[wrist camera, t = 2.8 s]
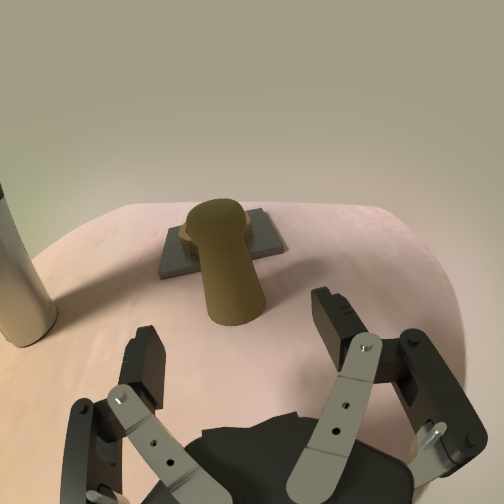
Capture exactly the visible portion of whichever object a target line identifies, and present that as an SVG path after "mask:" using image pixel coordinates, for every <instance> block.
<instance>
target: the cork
mask: <svg viewBox="0 0 504 504" xmlns="http://www.w3.org/2000/svg"><path fill="white" fill-rule="evenodd" d="M246 225H247V219H246V214H245V212H244V210H243V208H242V206H241V205H240V204H239V203H238V202H236V201H234V200H231V199H214V200H210V201H206V202H203V203H201V204H199V205H197V206H195V207H194V208H193V209H192V210H191V211H190V212H189V213H188V216H187V219H186V229H187V233H188V236H189V237H190V239H191V241H192V242H193V243H194V244H195V245H197V246H198V250H199V257H200V264H201V271H202V278H203V285H204V291H205V297H206V304H207V310H208V315H209V316H210V318H211V319H212V320H213V321H214V322H216V323H218V324H221V325H225V326H237V325H241V324H245V323H248V322H250V321H252V320H254V319H255V318H256V317H258V316H259V315H260V314H261V313H262V311H263V309H264V308H265V302H266V300H265V297H264V295H263V292H262V289H261V286H260V283H259V280H258V277H257V275H256V272H255V269H254V266H253V263H252V260H251V257H250V254H249V252H248V249H247V246H246V243H245V240H244V237H243V235H244V233H245V230H246Z"/></svg>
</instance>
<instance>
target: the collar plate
mask: <svg viewBox="0 0 504 504" xmlns="http://www.w3.org/2000/svg"><path fill="white" fill-rule="evenodd" d="M244 212H245V214H246V219H247V225H246V230H245V233H244V235H243V237H244V240H245V243H246V246H247V249H248V252H249V254H250V257H251V260H253V259H257V258H262V257H266V256H271V255H275V254H280V253H283V246H282V244H281V242H280V241H279V239H278V237H277V235H276V233H275V231H274V230H273V228H272V226H271V224H270V222H269V221H268V219H267V217H266V215H265V213H264V212H263V210H262V208H258V209H254V210H249V211H244ZM198 271H201V264H200V257H199V250H198V246H197V245H195V244H194V243H193V242H192V241H191V239H190V237H189V236H188V233H187V229H186V222H185V223H184V224H183V225H181V226H177V227H173V228H169V230H168V234H167V238H166V242H165V246H164V251H163V255H162V259H161V264H160V268H159V276H160V279H166V278H171V277H175V276H180V275H184V274H189V273H194V272H198Z"/></svg>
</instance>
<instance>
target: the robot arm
mask: <svg viewBox="0 0 504 504" xmlns="http://www.w3.org/2000/svg"><path fill="white" fill-rule="evenodd" d="M311 300H312V315H313V320H314V323H315V325H316V327H317V329H318V331H319V333H320V336H321V338H322V340H323V342H324V344H325V346H326V348H327V350H328V352H329V354H330V356H331V358H332V360H333V363H334V365H335V367H336V369H337V371H338V372H341V373H340V375H338V376H337V378H336V380H335V383H334V385H333V388H332V390H331V393H330V395H329V398H328V400H327V402H326V405H325V407H324V410H323V412H322V414H321V417H320V419H315V418H310V417H298V415H297V412H292V413H288V414H285V415H280V416H276V417H273V418H270V419H268V420H266V421H264V422H262V423H260V424H257V425H255V426H253V427H250V428H236V427H221V428H214V429H207V430H202V437H199V438H197V439H195V440H194V441H192V442H191V443H189V444H188V445H187V446H186V447H185V448H184V447H183V446H182V445H181V444H180V443H179V442H178V441H177V440H176V439H175V438H174V437H173V436H172V434H171V433H170V432H169V431H168V430H167V429H166V428H165V427H164V426H163V424H162V423H161V422H160V421H159V420H158V419H157V418H156V416H155V410H158V409H163V396H164V378H165V363H166V352H165V348H164V346H163V344H162V342H161V340H160V338H159V336H158V334H157V332H156V330H155V328H154V327H153V326H152V325H150V326H144V327H139V328H138V329H137V332H136V337H135V338H133V339H131V340H130V341H129V343H128V344H127V346H126V348H125V353H124V357H123V363H122V367H121V372H120V377H119V382H118V385H117V386H115V387H114V388H113V389H112V390H111V391H110V392H109V394H108V397H107V398H106V399H104V400H101V401H98V402H96V403H93V402H92V401H91V400H90V399H88V398H81V399H79V400H77V401H76V402H75V403H74V404H73V406H72V408H71V411H70V417H69V422H68V428H67V434H66V441H65V448H64V456H63V465H62V475H61V489H60V504H130V502H129V501H128V499H127V498H126V497H124V496H123V495H122V438H124V437H126V436H127V437H128V438H129V440H130V441H131V443H132V444H133V445H134V447H135V448H136V449H137V451H138V452H139V453H140V455H141V456H142V457H143V459H144V460H145V461H146V462H147V464H148V465H149V466H150V468H151V469H152V470H153V471H154V472H155V474H156V475H157V476H158V477H159V478H160V480H159V481H158V483H157V484H156V485H155V487H154V488H153V489H152V490H151V492H150V493H149V494H148V495H147V497H146V498H145V499H144V500H143V502H142V503H141V504H412V497H413V492H414V490H415V489H417V488H419V487H421V486H423V485H425V484H427V483H429V482H431V481H433V480H434V479H436V478H438V477H440V478H445V477H448V476H450V475H451V474H453V473H454V472H456V471H457V470H459V469H460V468H461V467H463V466H464V465H465V464H467V463H468V462H470V461H471V460H472V459H473V458H475V457H476V456H477V455H479V454H480V453H481V452H482V451H483V450H484V449H485V447H486V445H487V441H488V435H487V432H486V430H485V428H484V426H483V424H482V422H481V420H480V419H479V417H478V415H477V413H476V412H475V410H474V408H473V406H472V405H471V403H470V401H469V400H468V398H467V396H466V395H465V393H464V391H463V390H462V388H461V386H460V385H459V383H458V382H457V380H456V378H455V377H454V375H453V374H452V372H451V371H450V369H449V367H448V366H447V364H446V363H445V361H444V360H443V358H442V357H441V355H440V354H439V352H438V351H437V349H436V348H435V347H434V345H433V344H432V342H431V341H430V339H429V338H428V336H427V335H426V334H425V333H424V332H423V331H421V330H419V329H413V328H412V329H407V330H405V331H403V332H402V333H401V335H400V338H395V339H380V338H379V337H378V336H377V335H375V334H373V333H369V332H368V330H367V329H366V327H365V326H364V324H363V323H362V321H361V319H360V318H359V317H358V315H357V314H356V312H355V311H354V309H353V308H352V307H351V305H350V303H349V302H348V300H347V299H346V298H345V297H343V296H342V295H340V294H339V293H337V294H334V295H332V294H331V293H330V291H329V289H328V288H327V287H326V286H324V287H321V288H317V289H313V290H311ZM56 316H57V308H56V307H55V305H54V303H53V301H52V300H51V298H50V296H49V294H48V293H47V291H46V289H45V287H44V285H43V283H42V281H41V279H40V277H39V276H38V274H37V272H36V270H35V268H34V266H33V264H32V262H31V260H30V257H29V255H28V253H27V251H26V249H25V247H24V245H23V242H22V240H21V238H20V235H19V233H18V230H17V228H16V226H15V223H14V220H13V218H12V215H11V213H10V210H9V208H8V205H7V202H6V199H5V197H4V193H3V190H2V187H1V184H0V331H1V333H2V334H3V336H4V337H5V338H6V340H7V341H11V342H12V344H13V345H15V346H17V347H24V346H27V345H30V344H32V343H34V342H35V341H37V340H38V339H40V338H41V337H42V336H43V335H44V334H45V333H46V332H47V331H48V330H49V329H50V327H51V326H52V325H53V323H54V321H55V319H56ZM389 382H391V383H392V385H393V387H394V389H395V391H396V393H397V395H398V397H399V400H400V402H401V404H402V406H403V408H404V410H405V412H406V414H407V416H408V418H409V421H410V423H411V425H412V427H413V429H414V431H415V434H416V435H415V436H414V438H413V439H412V440H411V443H410V447H409V449H410V454H411V458H410V462H409V464H408V465H406V464H405V463H404V462H402V461H401V460H399V459H397V458H395V457H392V456H390V455H388V454H386V453H384V452H382V451H380V450H378V449H375V448H373V447H371V446H369V445H367V444H365V443H363V442H361V441H359V440H358V439H356V436H357V433H358V430H359V427H360V425H361V422H362V419H363V415H364V412H365V409H366V406H367V403H368V399H369V396H370V392H371V389H372V385H373V384H379V383H389Z"/></svg>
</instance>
